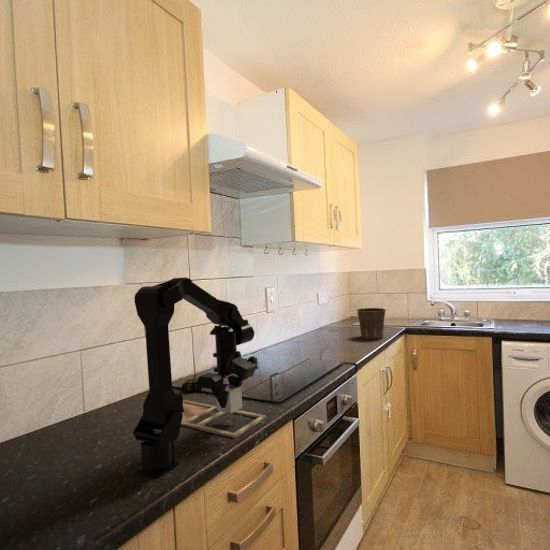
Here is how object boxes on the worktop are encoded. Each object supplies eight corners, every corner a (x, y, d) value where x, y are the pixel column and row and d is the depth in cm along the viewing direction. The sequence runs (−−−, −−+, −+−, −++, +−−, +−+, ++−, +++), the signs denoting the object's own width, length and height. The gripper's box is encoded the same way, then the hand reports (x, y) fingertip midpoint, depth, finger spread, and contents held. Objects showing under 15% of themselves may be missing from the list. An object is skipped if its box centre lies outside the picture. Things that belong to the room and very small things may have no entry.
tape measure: (188, 387, 142) (188, 377, 142) (206, 387, 141) (205, 377, 140) (181, 393, 135) (180, 382, 135) (199, 393, 134) (198, 382, 134)
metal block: (231, 413, 102) (229, 391, 102) (217, 410, 105) (215, 389, 105) (242, 407, 106) (241, 386, 106) (228, 404, 109) (227, 384, 109)
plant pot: (390, 335, 220) (388, 307, 219) (383, 340, 206) (381, 311, 205) (362, 334, 228) (361, 307, 228) (354, 339, 214) (352, 311, 214)
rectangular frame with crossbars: (234, 438, 96) (234, 435, 96) (149, 417, 113) (149, 415, 113) (266, 417, 108) (266, 415, 108) (184, 401, 125) (184, 399, 125)
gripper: (227, 358, 93) (230, 421, 93) (268, 344, 109) (271, 397, 109) (194, 355, 99) (197, 414, 99) (238, 341, 115) (241, 393, 115)
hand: (229, 404), depth 106 cm, fingers closed on metal block, 5 cm apart
